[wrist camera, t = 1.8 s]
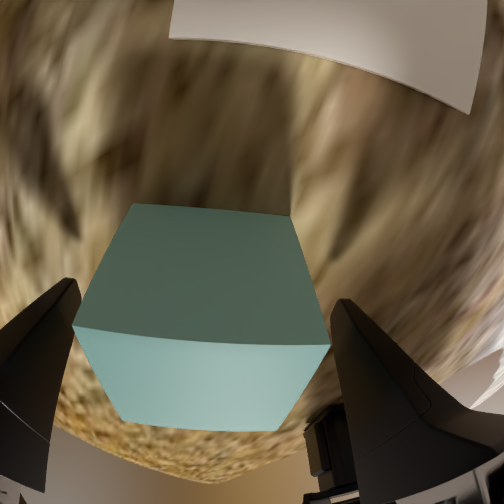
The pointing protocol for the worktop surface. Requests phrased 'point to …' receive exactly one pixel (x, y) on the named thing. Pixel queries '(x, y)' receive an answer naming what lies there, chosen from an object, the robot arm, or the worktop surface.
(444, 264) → the worktop surface
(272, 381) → the cube
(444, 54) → the tile
